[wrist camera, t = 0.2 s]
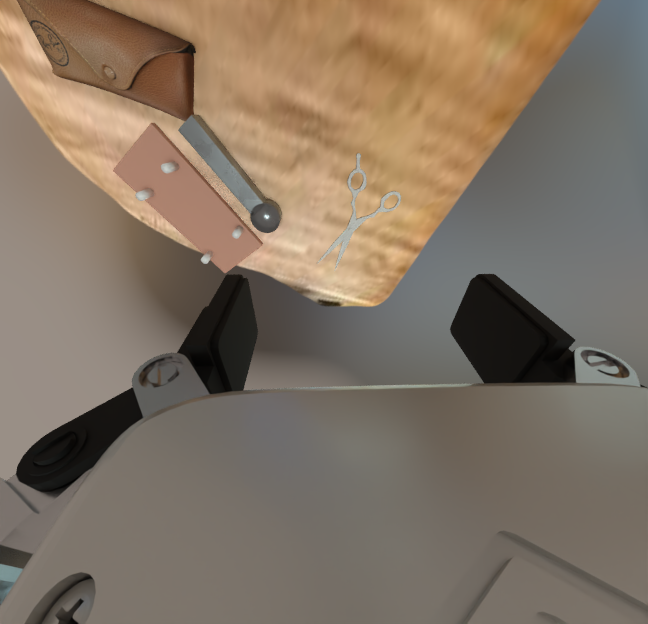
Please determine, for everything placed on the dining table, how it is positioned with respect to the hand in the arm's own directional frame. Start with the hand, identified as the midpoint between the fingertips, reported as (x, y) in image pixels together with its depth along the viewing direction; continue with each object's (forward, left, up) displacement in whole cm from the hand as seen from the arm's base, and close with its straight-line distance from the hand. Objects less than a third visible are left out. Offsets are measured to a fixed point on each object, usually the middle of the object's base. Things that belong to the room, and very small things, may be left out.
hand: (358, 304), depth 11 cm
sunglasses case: (-25, -14, -37) cm, 47 cm away
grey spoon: (-7, -12, -37) cm, 39 cm away
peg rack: (-8, -21, -37) cm, 43 cm away
